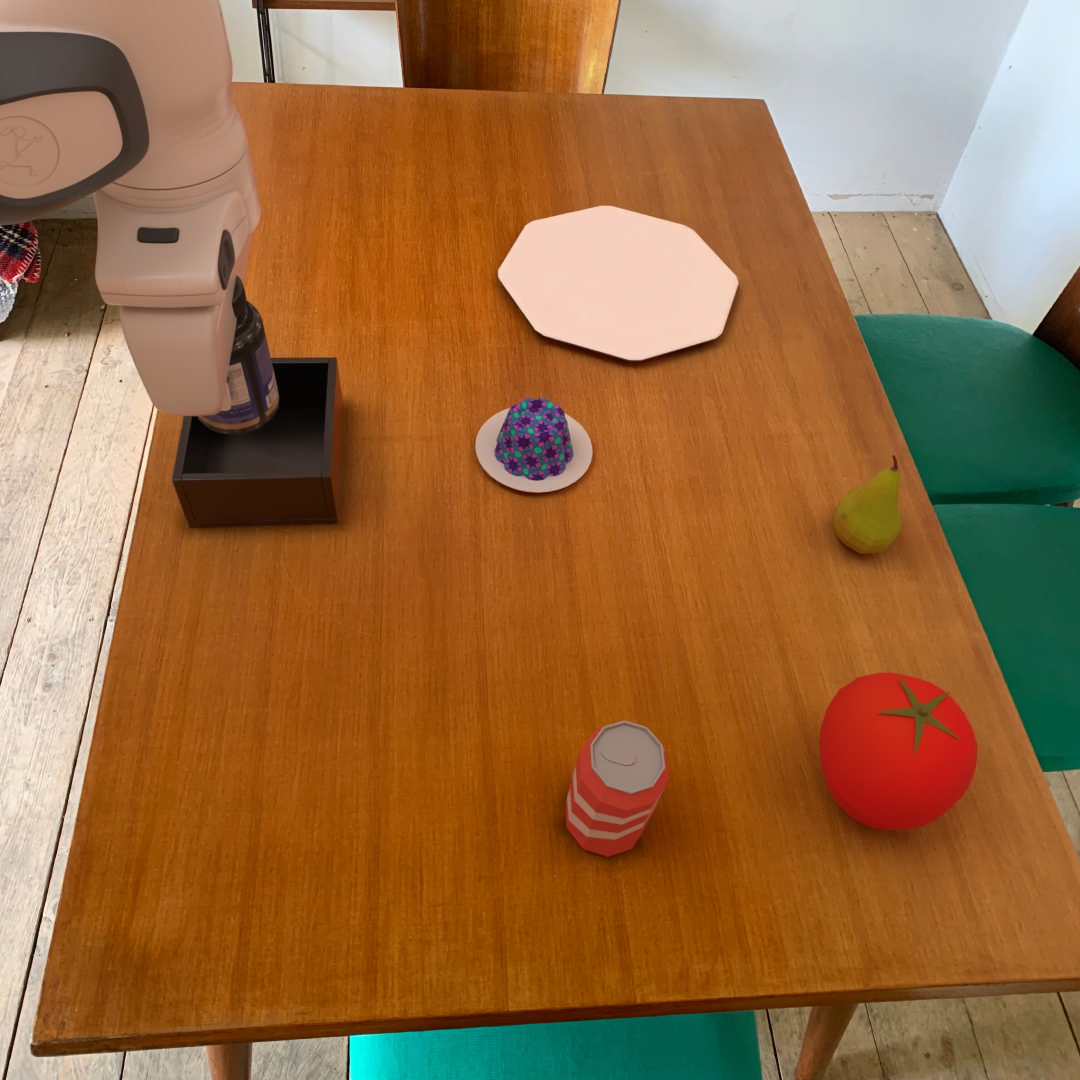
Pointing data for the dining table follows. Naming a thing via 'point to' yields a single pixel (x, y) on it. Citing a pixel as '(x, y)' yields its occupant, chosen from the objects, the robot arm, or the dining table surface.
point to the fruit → (870, 513)
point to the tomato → (896, 751)
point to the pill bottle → (247, 374)
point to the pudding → (534, 447)
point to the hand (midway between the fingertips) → (226, 366)
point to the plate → (618, 283)
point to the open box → (269, 457)
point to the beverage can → (615, 787)
